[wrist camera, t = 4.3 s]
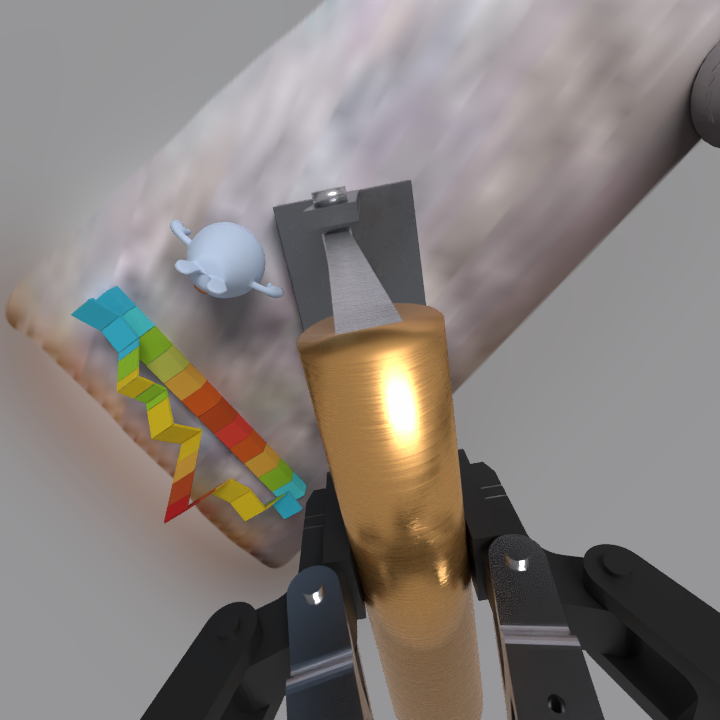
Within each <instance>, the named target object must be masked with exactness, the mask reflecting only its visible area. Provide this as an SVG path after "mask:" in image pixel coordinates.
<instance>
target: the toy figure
mask: <svg viewBox="0 0 720 720" xmlns="http://www.w3.org/2000/svg"><path fill="white" fill-rule="evenodd" d="M170 228H171V230H172V232H173V233H174V234H175V235H176V236H177V237H178V238H179V239H180V240H181V241H182V242H183V243H184V244H185V245H187V247H188V251H187V257H186V260H178V261H177V262H176V264H175V268H176V269H177V270H178V271H179V272H180V273H182V274H184V275H187V276H189V277H190V279H191V281H192V282H193V284H194V286H195V288H196V289H197V290H198V291H200V292H202V293H204V294H208V295H210V296H212V297H215V298H220V299H227V298H233V297H238V296H241V295H244V294H246V293H248V292H250V291H251V290H252V289H255V290H257V291H259V292H261V293H264V294H266V295H268V296H270V297H274V298H279V297H281V296H282V295H283V290H282V289H281V288H280V287H275V286H272V284H271V283H268V284H267V285H266V287H265V286H262V285H260V284H258V283H259V282H260V280H261V278H262V276H263V273H264V270H265V255H264V251H263V248H262V246H261V244H260V242H259V241H258V239H257V238H256V237H255V236H254V235H253V234H252V233H251V232H250V231H249V230H247V229H246V228H244V227H242V226H240V225H238V224H234V223H229V222H220V223H214V224H211V225H209V226H207V227H205V228H203V229H202V230H201V231H200V232H198V233H197V235H196V236H195V237H194V238H193V240H191V239H190V238H188V237H187V235H190V233H191V231H190V230H189V229H185V227H184V225H183V223H182V222H181V221H179V220H173V221H171V223H170Z"/></svg>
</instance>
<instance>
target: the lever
mask: <svg viewBox="0 0 720 720" xmlns="http://www.w3.org/2000/svg"><path fill="white" fill-rule="evenodd" d="M322 238H323V242H324V247H325V252H326V257H327V261H328V268H329V277H330V286H331V296H332V305H333V316H331V317H328V318H326V319H323V320H321V321H319V322H317V323H316V324H314V325H312V326H311V327H309V328H308V329H307V330H305V331H304V332H303V333H302V334H301V335H300V337H299V338H298V341H297V348H298V351H299V355H300V359H301V363H302V366H303V370H304V374H305V378H306V381H307V385H308V389H309V393H310V397H311V400H312V404H313V408H314V412H315V415H316V419H317V423H318V427H319V430H320V434H321V438H322V442H323V445H324V449H325V453H326V457H327V461H328V464H329V468H330V472H331V476H332V479H333V483H334V487H335V491H336V494H337V498H338V502H339V506H340V510H341V513H342V517H343V521H344V525H345V528H346V532H347V536H348V540H349V543H350V546H351V550H352V554H353V558H354V562H355V565H356V569H357V573H358V577H359V580H360V584H361V588H362V592H363V595H364V599H365V604H366V607H367V611H368V615H369V619H370V622H371V626H372V630H373V634H374V637H375V641H376V645H377V649H378V652H379V656H380V660H381V664H382V668H383V672H384V675H385V678H386V683H387V686H388V690H389V694H390V698H391V702H392V705H393V709H394V712H395V715H396V717H397V719H398V720H480V718H481V714H482V708H483V692H482V682H481V672H480V662H479V653H478V644H477V633H476V623H475V614H474V604H473V594H472V585H471V575H470V565H469V555H468V545H467V536H466V526H465V516H464V506H463V497H462V487H461V477H460V467H459V458H458V449H457V438H456V429H455V419H454V409H453V399H452V390H451V380H450V370H449V360H448V351H447V341H446V331H445V321H444V316H443V315H442V313H441V312H439V311H438V310H436V309H435V308H432V307H429V306H425V305H420V304H412V303H392V302H391V300H390V298H389V297H388V295H387V293H386V292H385V290H384V288H383V287H382V285H381V283H380V282H379V280H378V278H377V277H376V275H375V273H374V271H373V270H372V268H371V266H370V265H369V263H368V261H367V260H366V258H365V256H364V255H363V253H362V251H361V250H360V248H359V246H358V245H357V243H356V241H355V240H354V238H353V236H352V231H351V227H343V228H337V229H332V230H328V231H325V232H323V233H322Z"/></svg>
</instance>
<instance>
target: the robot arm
mask: <svg viewBox="0 0 720 720" xmlns="http://www.w3.org/2000/svg"><path fill="white" fill-rule="evenodd" d="M691 116H692V122H693V124H694V127H695V129H696V131H697V133H698V134H699V135H700V136H701V138H702V139H703V140H704V141H706V142H707V143H709V144H710V145H712V146H714V147H718V148H720V41H719V42H718V43H717V44H716V46H715V47H714V48H713V49H712V51H711V52H710V53H709V54H708V56H707V58H706V59H705V61H704V63H703V64H702V66H701V68H700V70H699V72H698V75H697V77H696V80H695V82H694V86H693V90H692V95H691ZM458 458H459V467H460V477H461V487H462V497H463V506H464V516H465V526H466V536H467V545H468V555H469V565H470V575H471V578H472V581H473V585H474V587H475V591H476V594H477V597H478V600H479V601H481V600H487V599H488V600H489V603H490V606H491V609H492V612H493V620H494V629H495V636H496V642H497V649H498V656H499V662H500V669H501V676H502V682H503V689H504V695H505V702H506V710H507V719H508V720H605V719H604V716H603V713H602V710H601V707H600V704H599V701H598V698H597V695H596V691H595V689H594V685H593V682H592V679H591V676H590V673H589V670H588V667H587V664H586V661H585V658H584V654H583V652H582V650H586V651H587V653H588V654H589V655H590V656H591V657H592V658H593V659H594V660H595V661H596V662H597V664H599V666H600V667H601V668H602V669H603V670H605V672H606V673H607V674H608V675H609V676H610V677H611V678H612V679H613V680H614V681H615V682H616V683H617V684H618V685H619V686H620V687H621V688H622V689H623V690H624V691H625V692H626V693H627V694H628V695H629V696H630V697H631V698H632V699H633V700H634V701H635V702H636V703H637V704H638V705H639V706H640V707H641V708H642V709H643V710H644V711H645V712H646V713H647V714H648V715H649V716H650V717H651V718H652V719H653V720H720V613H719V612H718V611H716V610H715V609H713V608H712V607H711V606H709V605H708V604H706V603H705V602H704V601H702V600H701V599H699V598H698V597H696V596H695V595H694V594H692V593H691V592H689V591H688V590H686V589H685V588H684V587H682V586H681V585H679V584H678V583H676V582H675V581H674V580H672V579H671V578H669V577H668V576H667V575H665V574H664V573H662V572H661V571H659V570H658V569H657V568H655V567H654V566H652V565H651V564H649V563H648V562H647V561H645V560H644V559H642V558H641V557H639V556H638V555H636V554H635V553H633V552H632V551H630V550H628V549H626V548H623V547H620V546H616V545H609V544H602V545H597V546H594V547H592V548H590V549H589V550H588V551H587V552H586V554H585V556H584V558H583V557H574V556H566V555H560V554H555V553H552V552H549V551H547V550H545V549H543V548H542V547H541V546H540V545H539V544H538V543H537V542H535V541H534V540H532V539H531V538H530V537H529V536H528V535H527V533H526V531H525V529H524V527H523V526H522V524H521V521H520V520H519V517H518V515H517V514H516V512H515V510H514V508H513V506H512V504H511V502H510V500H509V498H508V496H507V495H506V492H505V490H504V488H503V486H501V483H500V481H499V479H498V477H497V475H496V473H495V471H494V470H492V469H491V468H490V467H489V466H487V465H486V464H484V462H480V463H474V464H470V463H469V460H468V458H467V456H466V454H465V451H464V450H463V449H460V450H458ZM364 618H366V610H365V599H364V595H363V592H362V588H361V584H360V580H359V577H358V573H357V569H356V565H355V562H354V558H353V554H352V550H351V546H350V543H349V540H348V536H347V532H346V528H345V525H344V521H343V517H342V513H341V510H340V506H339V502H338V498H337V494H336V491H335V487H334V483H333V479H332V476H331V472H327V483H326V489H320V490H314V491H313V493H312V494H311V496H310V498H309V499H308V501H307V503H306V511H305V520H304V530H303V538H302V547H301V556H300V565H299V572H298V574H297V575H296V576H295V577H294V578H293V580H292V581H291V583H290V584H289V587H288V590H287V592H286V593H285V594H284V595H283V596H281V597H280V598H279V599H277V600H275V601H273V602H271V603H269V604H267V605H265V606H263V607H261V608H259V609H257V610H255V609H254V608H253V607H252V606H251V605H250V604H248V603H245V602H234V603H231V604H228V605H226V606H224V607H222V608H221V609H219V610H218V611H217V612H215V613H214V614H213V615H212V616H211V618H210V619H209V620H208V621H207V623H206V624H205V626H204V627H203V629H202V630H201V632H200V633H199V635H198V636H197V637H196V639H195V640H194V642H193V643H192V645H191V646H190V648H189V649H188V651H187V652H186V654H185V655H184V656H183V658H182V659H181V661H180V662H179V664H178V665H177V667H176V668H175V669H174V671H173V672H172V674H171V675H170V677H169V678H168V680H167V681H166V683H165V684H164V685H163V687H162V688H161V690H160V691H159V693H158V694H157V696H156V697H155V699H154V700H153V702H152V703H151V704H150V706H149V707H148V709H147V710H146V712H145V713H144V715H143V716H142V718H141V719H140V720H274V718H275V715H276V714H277V711H278V709H279V707H280V705H281V703H282V700H283V698H284V696H285V695H286V706H287V720H374V719H373V714H372V710H371V705H370V701H369V696H368V691H367V686H366V681H365V676H364V672H363V667H362V662H361V658H360V653H359V648H358V644H357V620H358V619H364Z"/></svg>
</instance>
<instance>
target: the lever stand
mask: <svg viewBox="0 0 720 720" xmlns="http://www.w3.org/2000/svg"><path fill="white" fill-rule="evenodd" d="M311 194H312V199H309V200H304V201H299V202H294V203H289V204H284V205H279V206H276V207H273V210H274V214H275V218H276V222H277V226H278V230H279V234H280V238H281V242H282V246H283V249H284V253H285V257H286V261H287V265H288V269H289V273H290V277H291V281H292V285H293V289H294V293H295V297H296V301H297V305H298V309H299V313H300V317H301V320H302V324H303V328H304V331H305V330H307V329H308V328H309V327H311V326H312V325H314V324H316V323H317V322H319V321H321V320H323V319H326V318H328V317H331V316H333V305H332V296H331V286H330V277H329V268H328V261H327V257H326V252H325V247H324V242H323V238H322V233H323V232H325V231H328V230H332V229H337V228H343V227H351V231H352V236H353V238H354V240H355V241H356V243H357V245H358V246H359V248H360V250H361V251H362V253H363V255H364V256H365V258H366V260H367V261H368V263H369V265H370V266H371V268H372V270H373V271H374V273H375V275H376V277H377V278H378V280H379V282H380V283H381V285H382V287H383V288H384V290H385V292H386V293H387V295H388V297H389V298H390V300H391V302H392V303H412V304H420V305H425V306H426V301H425V293H424V285H423V276H422V268H421V260H420V251H419V243H418V235H417V226H416V218H415V210H414V201H413V193H412V185H411V180H406V181H401V182H396V183H391V184H386V185H380V186H375V187H370V188H365V189H360V190H355V191H350V192H346V189H345V186H343V187H338V188H332V189H327V190H322V191H318V192H313V193H311Z"/></svg>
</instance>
